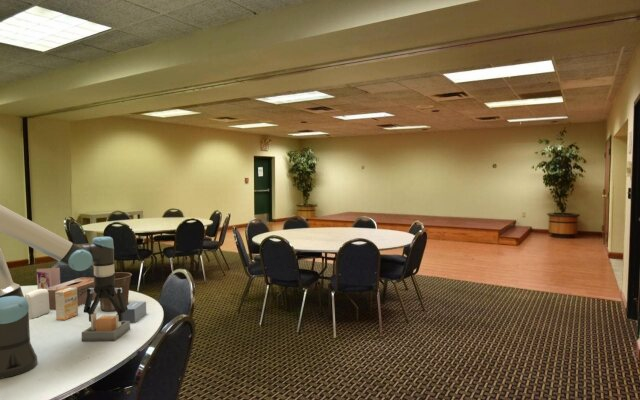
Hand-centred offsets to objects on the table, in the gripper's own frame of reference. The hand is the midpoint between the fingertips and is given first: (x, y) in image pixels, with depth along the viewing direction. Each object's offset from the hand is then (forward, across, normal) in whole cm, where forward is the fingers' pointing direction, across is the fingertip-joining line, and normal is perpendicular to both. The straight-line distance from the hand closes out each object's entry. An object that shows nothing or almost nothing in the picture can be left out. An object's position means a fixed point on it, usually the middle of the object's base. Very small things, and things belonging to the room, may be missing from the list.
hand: (106, 329), depth 171 cm
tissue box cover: (+3, +41, -46) cm, 62 cm away
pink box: (+3, +63, -59) cm, 86 cm away
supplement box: (+3, +30, -22) cm, 37 cm away
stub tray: (+2, 0, 0) cm, 2 cm away
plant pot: (+3, +15, -36) cm, 39 cm away
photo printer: (+3, +46, -25) cm, 52 cm away
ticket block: (+2, -2, -20) cm, 20 cm away
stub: (+1, 0, 0) cm, 1 cm away
